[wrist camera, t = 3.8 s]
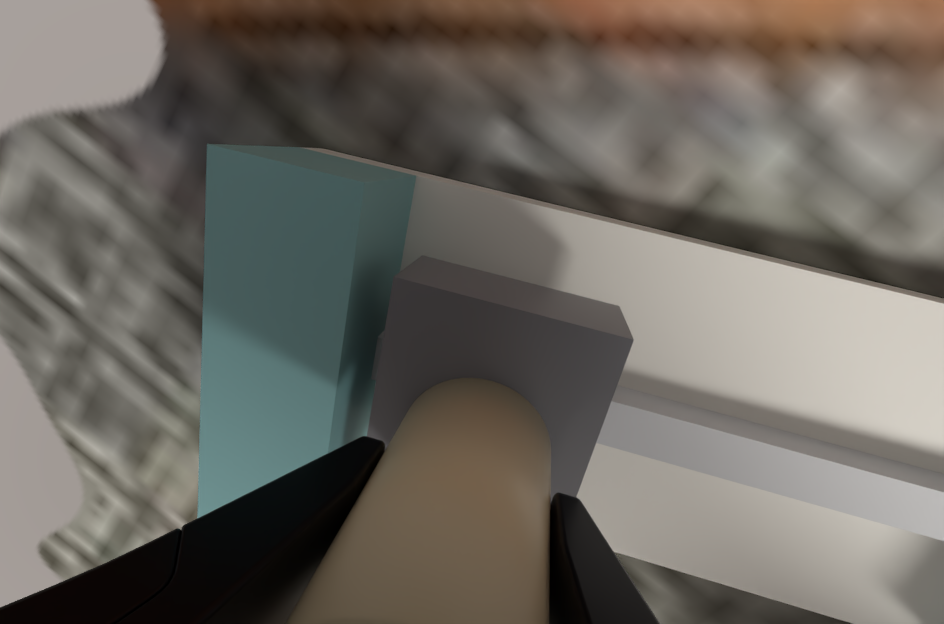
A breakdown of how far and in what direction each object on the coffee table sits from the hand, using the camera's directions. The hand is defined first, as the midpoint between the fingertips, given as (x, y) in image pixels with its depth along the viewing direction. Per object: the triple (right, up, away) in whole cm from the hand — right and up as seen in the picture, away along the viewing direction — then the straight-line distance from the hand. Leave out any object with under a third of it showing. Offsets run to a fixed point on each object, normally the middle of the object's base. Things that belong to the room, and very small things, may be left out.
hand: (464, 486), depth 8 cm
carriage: (+1, +1, +4) cm, 4 cm away
